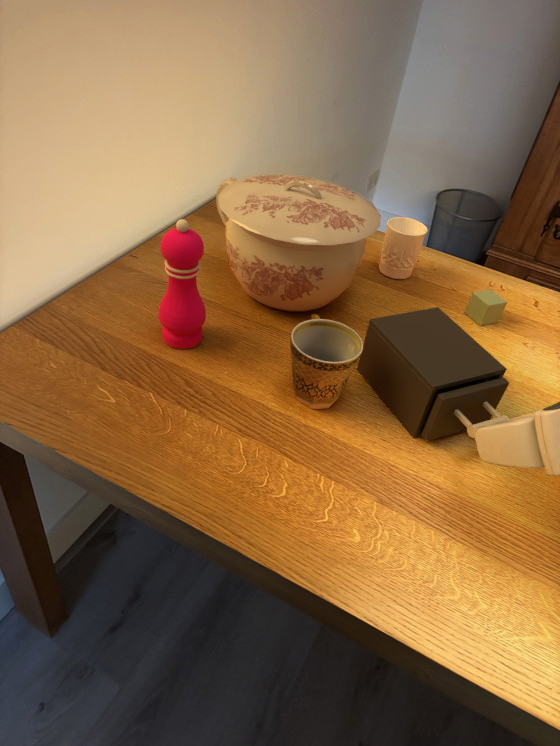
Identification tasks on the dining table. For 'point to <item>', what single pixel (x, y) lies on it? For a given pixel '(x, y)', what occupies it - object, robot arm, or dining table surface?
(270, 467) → the dining table surface
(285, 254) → the chamber pot
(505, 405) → the dining table surface
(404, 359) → the drawer box
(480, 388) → the dark brown drawer
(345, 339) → the ceramic cup
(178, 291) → the pepper mill
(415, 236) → the white cup
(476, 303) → the block
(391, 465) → the dining table surface
